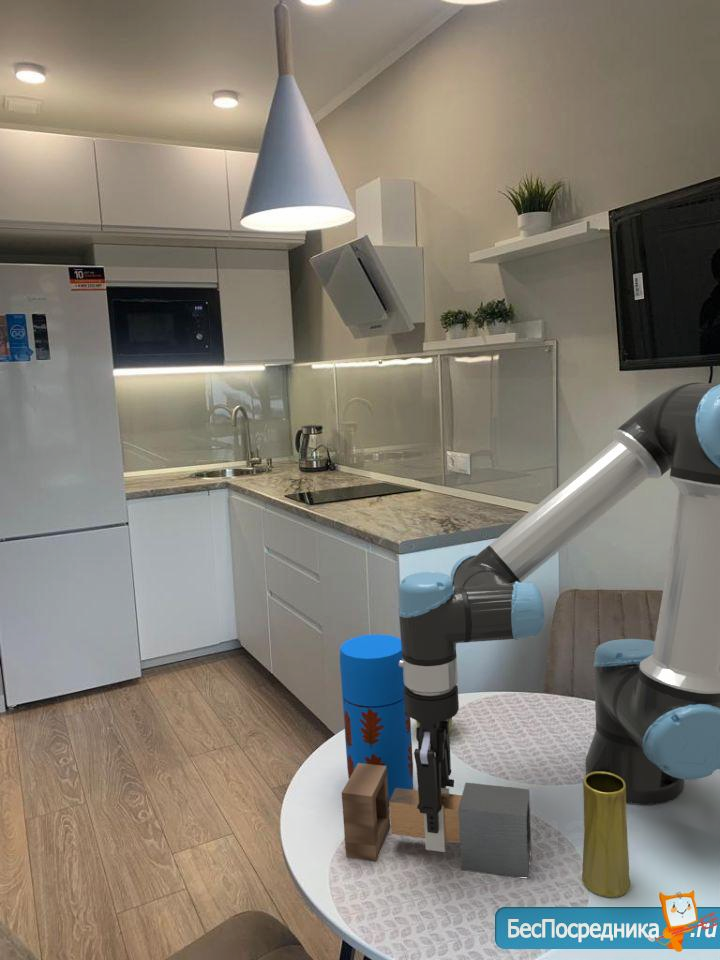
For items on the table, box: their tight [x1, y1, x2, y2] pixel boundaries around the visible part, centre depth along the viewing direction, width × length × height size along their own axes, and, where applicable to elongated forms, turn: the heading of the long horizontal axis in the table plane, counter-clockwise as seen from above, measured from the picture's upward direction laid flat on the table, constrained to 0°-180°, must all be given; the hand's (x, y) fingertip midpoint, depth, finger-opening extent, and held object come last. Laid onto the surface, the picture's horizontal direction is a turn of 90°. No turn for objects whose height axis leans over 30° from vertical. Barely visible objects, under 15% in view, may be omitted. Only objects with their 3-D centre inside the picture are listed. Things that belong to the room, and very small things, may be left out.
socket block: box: [341, 763, 391, 862], centre depth 107 cm, size 4×8×10 cm, turn 163°
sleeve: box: [458, 782, 532, 878], centre depth 101 cm, size 9×6×9 cm
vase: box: [581, 771, 632, 898], centre depth 95 cm, size 6×6×14 cm
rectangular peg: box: [389, 788, 462, 844], centre depth 103 cm, size 18×4×5 cm, turn 73°
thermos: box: [339, 633, 414, 808], centre depth 119 cm, size 11×11×25 cm
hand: (438, 839), depth 104 cm, fingers closed on rectangular peg, 4 cm apart
